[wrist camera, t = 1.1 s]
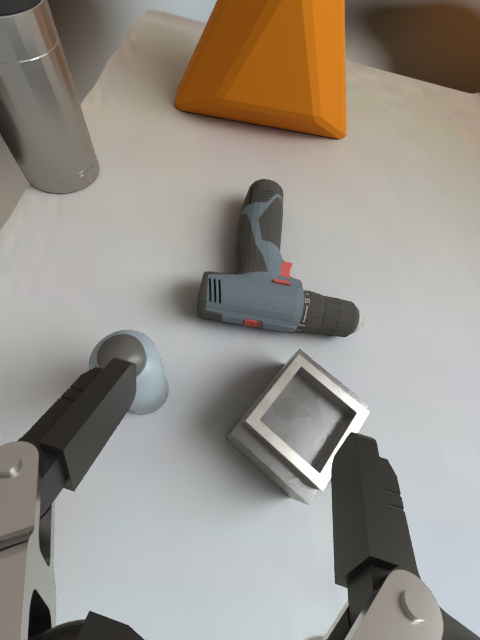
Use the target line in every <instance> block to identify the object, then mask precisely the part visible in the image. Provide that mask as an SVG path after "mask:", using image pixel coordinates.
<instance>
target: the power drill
mask: <svg viewBox="0 0 480 640" xmlns="http://www.w3.org/2000/svg"><path fill="white" fill-rule="evenodd" d="M282 216H283V190H282V188H281V187H280V186H279V185H278V184H277V183H276V182H274V181H271V180H266V179H262V180H258V181H255V182H254V183H253V184H252V185H251V186H250V188H249V190H248V193H247V196H246V198H245V201H244V204H243V206H242V211H241V215H240V220H239V226H238V234H237V258H238V270H237V273H236V274H224V273H216V272H204V275H203V278H202V282H201V287H200V292H199V299H198V307H197V315H198V317H200V318H204V319H210V320H216V321H222V322H228V323H234V324H240V325H243V326H245V325H246V326H252V327H254V328H255V327H259V328H263V329H268V330H274V331H281V332H293V331H294V332H299V333H320V334H326V335H330V336H331V335H332V336H339V337H347V336H348V335H350V334H352V333H354V332H356V331H358V330H359V329H360V327H362V326H363V325H364V322H363V319H364V318H363V316H362V313H361V312H360V311H359V310H358V308H357V307H356V306H355V305H354V303H353V302H350V301H346V300H342V299H338V298H332V297H327V296H322V295H320V294H317V293H314V292H311V291H307V290H303V288H302V282H301V281H300V280H298V279H294V278H292V277H290V276H289V273H290V269H291V267H292V263H289V262H284V261H283V259H282V257H281V254H280V242H281V229H282Z"/></svg>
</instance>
